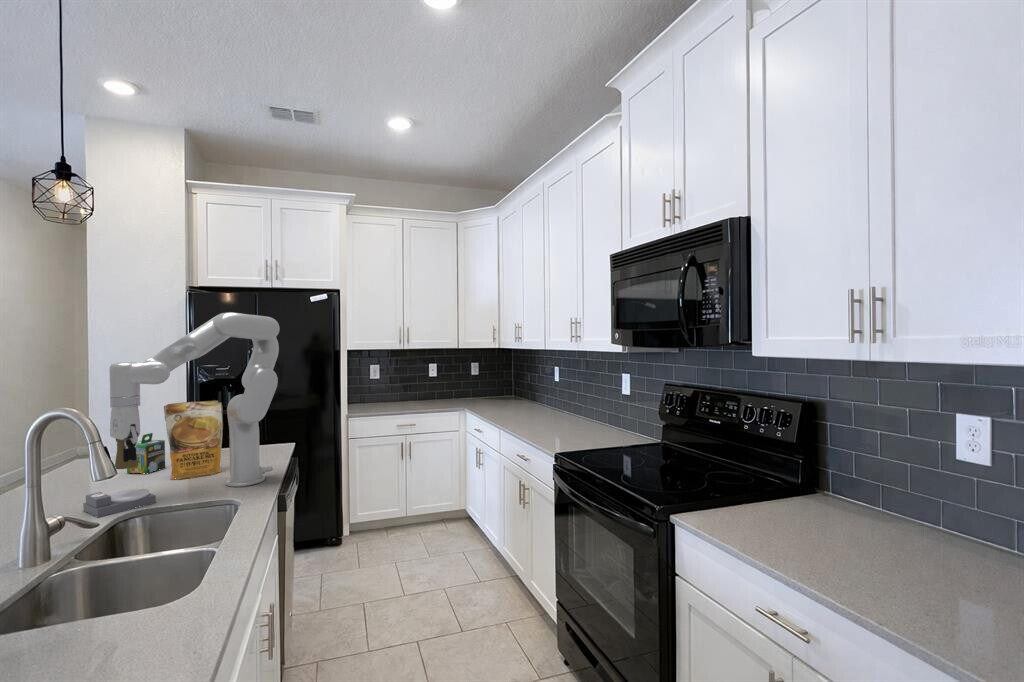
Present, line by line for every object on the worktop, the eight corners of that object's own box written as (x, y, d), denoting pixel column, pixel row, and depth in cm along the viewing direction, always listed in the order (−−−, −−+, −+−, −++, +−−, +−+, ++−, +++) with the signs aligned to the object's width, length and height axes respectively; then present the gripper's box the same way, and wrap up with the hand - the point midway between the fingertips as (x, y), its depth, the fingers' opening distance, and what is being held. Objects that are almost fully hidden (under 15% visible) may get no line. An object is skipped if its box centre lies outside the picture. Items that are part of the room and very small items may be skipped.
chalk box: (146, 467, 204) (145, 431, 204) (166, 468, 203) (165, 431, 203) (125, 474, 195) (124, 435, 195) (146, 474, 194) (145, 436, 194)
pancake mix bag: (165, 478, 189) (163, 403, 189) (223, 469, 200) (222, 398, 200) (165, 482, 184) (163, 405, 183) (225, 473, 195) (224, 400, 194)
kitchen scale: (140, 497, 167) (140, 481, 167) (155, 502, 161) (155, 486, 161) (83, 510, 154) (83, 493, 154) (97, 517, 148) (97, 499, 148)
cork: (143, 464, 162) (142, 430, 161) (127, 469, 156) (126, 433, 155) (126, 464, 162) (125, 429, 162) (109, 469, 156) (108, 433, 156)
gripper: (100, 401, 160) (101, 459, 160) (122, 405, 151) (123, 466, 151) (128, 398, 166) (129, 454, 167) (151, 402, 157) (152, 460, 157)
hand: (126, 459), depth 159 cm, fingers closed on cork, 3 cm apart
